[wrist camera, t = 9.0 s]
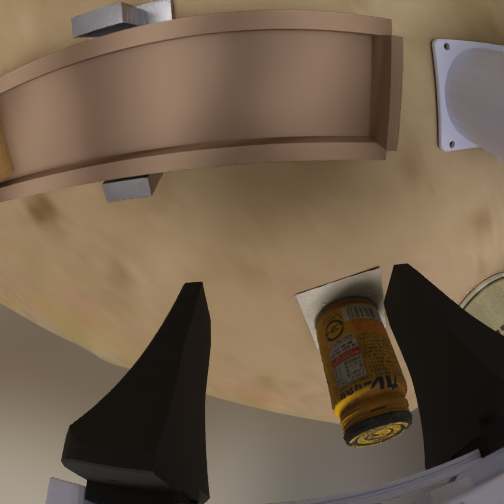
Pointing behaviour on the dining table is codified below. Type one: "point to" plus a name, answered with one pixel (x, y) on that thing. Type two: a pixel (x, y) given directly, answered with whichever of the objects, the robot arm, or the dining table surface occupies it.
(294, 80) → the balance beam
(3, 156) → the wooden cube block
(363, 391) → the condiment
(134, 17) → the pivot stand
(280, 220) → the dining table surface
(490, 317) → the coffee can
